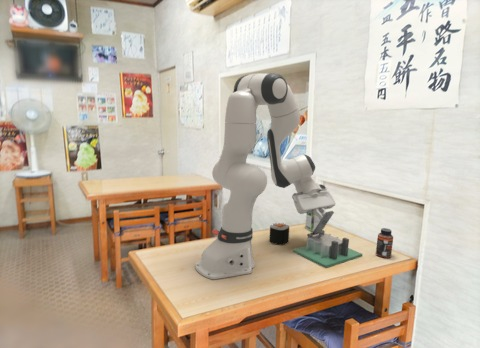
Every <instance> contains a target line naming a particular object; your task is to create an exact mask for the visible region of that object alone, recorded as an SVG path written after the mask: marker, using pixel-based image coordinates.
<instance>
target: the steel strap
mask: <svg viewBox="0 0 480 348" xmlns="http://www.w3.org/2000/svg"><path fill="white" fill-rule="evenodd" d="M334 214H335V212H334V211H333V210H330V211H325V214H324V216H323V217H322V219H321V220H320V222H319V223H318V225H317V227H316V228H315V230H314V231H313V232H312V233H313V235H318V234H320V233H321V231H322V230H324V228H325V227H326V226H327V224H328V223H329V221H330V220H331V218H332V216H333V215H334Z"/></svg>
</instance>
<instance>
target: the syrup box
mask: <svg viewBox="0 0 480 348" xmlns="http://www.w3.org/2000/svg"><path fill="white" fill-rule="evenodd" d="M319 212H320V211H319ZM305 214H306V216H305V226H304V227H305V229H306V230H308V231H309V232H310V231H311V233H313V231H314V230H315V228H316V227H317V225H318V223H319V222H320V219H319V218H318V217H317V216H316V215H315V214H314V213H313V212H310V213H305Z"/></svg>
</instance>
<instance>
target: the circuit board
mask: <svg viewBox="0 0 480 348" xmlns="http://www.w3.org/2000/svg"><path fill="white" fill-rule="evenodd" d="M306 246H307V245H305V246H304V245H303V246H300V247H297V248H294V249H292V252H293V253H295V254H297V255H299V256H301V257H302V258H305V259H307V260H308V261H311V262H312V263H315V264H316V265H318V266H321V267H322V268H325V269H327V268H331V267H333V266H336V265H339V264H343V263H346V262H349V261H352V260H355V259H358V258H361V257H363V253H361V252H359V251H356V250H354V249H352V248H349V247H348V256H343V255H338V256H337V259H335V260H334V259H332V258H327V257H321V255H320V254H318V253H315V254H314V253H313V251H312V250H306Z"/></svg>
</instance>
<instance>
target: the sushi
mask: <svg viewBox="0 0 480 348" xmlns="http://www.w3.org/2000/svg"><path fill="white" fill-rule="evenodd" d="M289 239H290V225H288V224H286V223H283V222H281V223H280V222H278V223H277V222H276V223H272V224H270V225H269V240H268V242H269V243H271V244H273V245H274V244H275V245H280V246H281V245H286V244H288V243H289V241H290V240H289Z"/></svg>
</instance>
